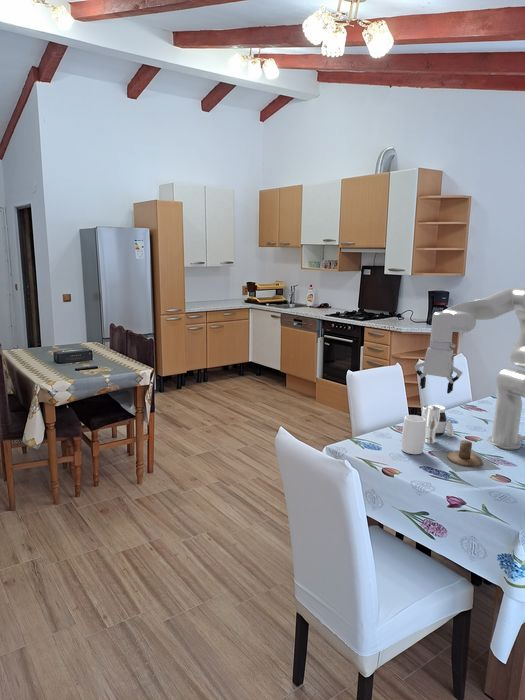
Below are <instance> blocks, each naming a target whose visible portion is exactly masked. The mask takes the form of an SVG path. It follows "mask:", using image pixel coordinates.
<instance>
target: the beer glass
mask: <svg viewBox="0 0 525 700" xmlns="http://www.w3.org/2000/svg"><path fill="white" fill-rule="evenodd" d="M434 405H435V404H425V405H423V406H422V411H421V417H423V418H425V419H426V432H425V441H424V444H435V443H437V440H436V437H437V436H436V431H437V428H438V424H439V419H440V408H439V407H437V406H434Z"/></svg>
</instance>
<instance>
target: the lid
mask: <svg viewBox="0 0 525 700" xmlns="http://www.w3.org/2000/svg"><path fill="white" fill-rule="evenodd" d="M472 445H473V442H472V441H470V440H467V439H466V440H464V439H463V440H460V444H459V451H455V450H452V451H453V452H450V453H448V455H447V458H448V460H449V461H451V462H452V463H455V464H458V465H461V466H467V467H476V466H480V465H481V464H482V459H481V458H480V457H478V456H477V455H474V454H471V450H472V447H473V446H472Z"/></svg>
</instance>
